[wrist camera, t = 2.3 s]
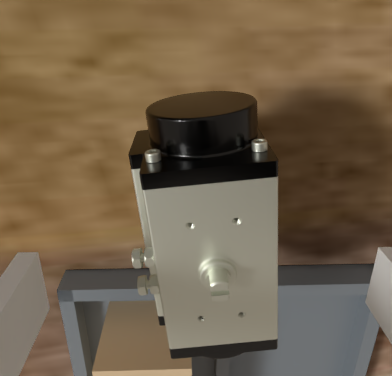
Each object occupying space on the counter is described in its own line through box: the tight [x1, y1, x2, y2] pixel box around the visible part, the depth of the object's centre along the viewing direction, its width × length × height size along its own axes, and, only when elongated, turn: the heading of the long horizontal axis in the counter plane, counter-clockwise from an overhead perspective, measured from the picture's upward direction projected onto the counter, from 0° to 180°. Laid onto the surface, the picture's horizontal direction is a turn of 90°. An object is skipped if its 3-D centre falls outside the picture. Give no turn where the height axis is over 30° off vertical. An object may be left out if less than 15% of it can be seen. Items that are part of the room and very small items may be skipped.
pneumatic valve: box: [129, 91, 278, 359], centre depth 19 cm, size 6×12×12 cm, turn 5°
